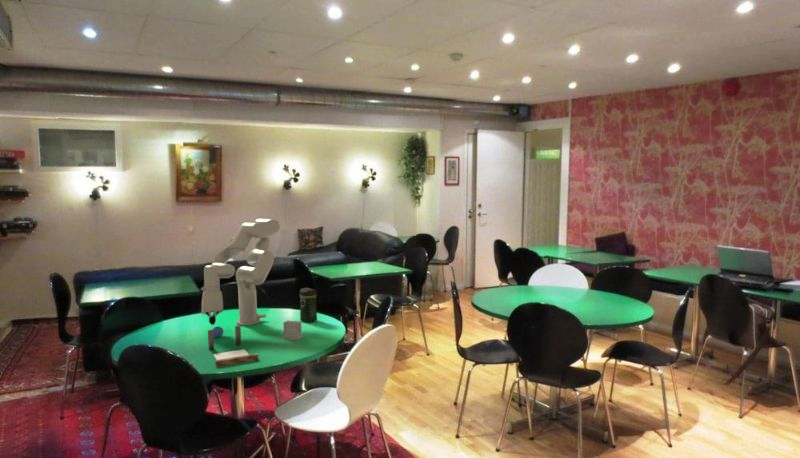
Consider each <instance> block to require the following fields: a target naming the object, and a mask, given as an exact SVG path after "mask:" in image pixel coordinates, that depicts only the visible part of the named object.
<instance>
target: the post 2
mask: <svg viewBox="0 0 800 458" xmlns="http://www.w3.org/2000/svg"><path fill="white" fill-rule="evenodd" d="M241 327H242V326H241V325H235V326H234V332H235V333H234V335H235V346H237V347H239V346H241V345H242V329H241Z"/></svg>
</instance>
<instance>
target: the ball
mask: <svg viewBox="0 0 800 458" xmlns="http://www.w3.org/2000/svg"><path fill="white" fill-rule="evenodd" d="M212 330H213V331H214V338H221V337H222V336H223V334H224V329H223V327H222V326H214V328H213V329H212Z"/></svg>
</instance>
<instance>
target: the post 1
mask: <svg viewBox="0 0 800 458" xmlns="http://www.w3.org/2000/svg"><path fill="white" fill-rule="evenodd" d="M207 341H208V351H209V350H210V351H212V350H214V349H215V337H214V331H213V329H208V330H207Z"/></svg>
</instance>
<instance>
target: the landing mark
mask: <svg viewBox="0 0 800 458" xmlns="http://www.w3.org/2000/svg"><path fill="white" fill-rule="evenodd" d="M244 355H250V354H249V353H248V351H246V349H243V348H242V349H239V350H231V351H230V350H229V351H225V352H218V353H214V354H213V356H214V358H215V360H220V359H226V358H232V357H238V356H244Z"/></svg>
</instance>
